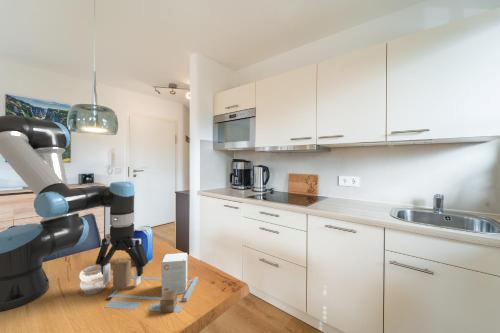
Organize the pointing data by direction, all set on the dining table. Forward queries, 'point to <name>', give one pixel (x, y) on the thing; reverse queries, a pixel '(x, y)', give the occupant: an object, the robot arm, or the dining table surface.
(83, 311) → the dining table surface
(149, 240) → the beer can
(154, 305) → the broken strip
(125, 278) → the frame
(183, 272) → the small box
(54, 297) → the dining table surface
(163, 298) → the walnut cube
